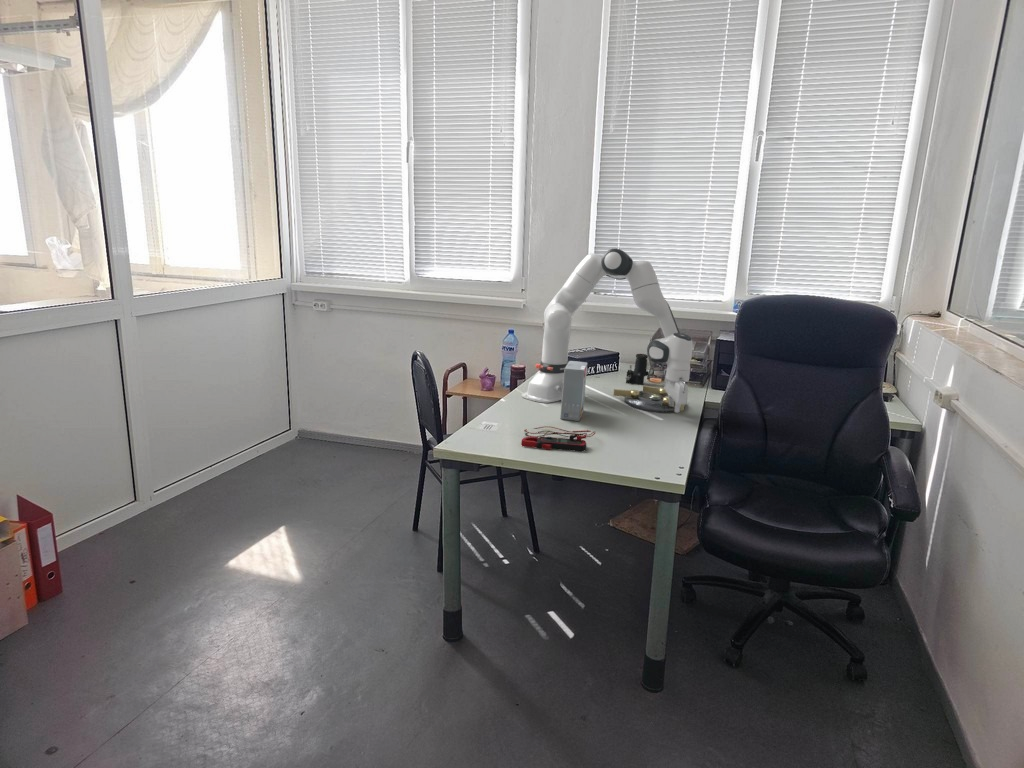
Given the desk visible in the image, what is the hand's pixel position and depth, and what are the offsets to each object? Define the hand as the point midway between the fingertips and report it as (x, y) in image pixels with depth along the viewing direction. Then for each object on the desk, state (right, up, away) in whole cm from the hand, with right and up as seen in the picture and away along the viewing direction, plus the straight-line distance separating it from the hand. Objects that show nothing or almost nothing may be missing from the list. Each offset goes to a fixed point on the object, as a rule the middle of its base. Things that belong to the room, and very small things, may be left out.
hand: (673, 409), depth 251 cm
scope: (-5, +10, +49) cm, 50 cm away
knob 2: (+1, +1, +6) cm, 6 cm away
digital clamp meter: (-48, -10, -31) cm, 58 cm away
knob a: (-2, +6, +24) cm, 25 cm away
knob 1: (-16, +5, +17) cm, 24 cm away
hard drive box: (-41, -2, -4) cm, 41 cm away
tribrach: (-4, +2, +17) cm, 17 cm away
